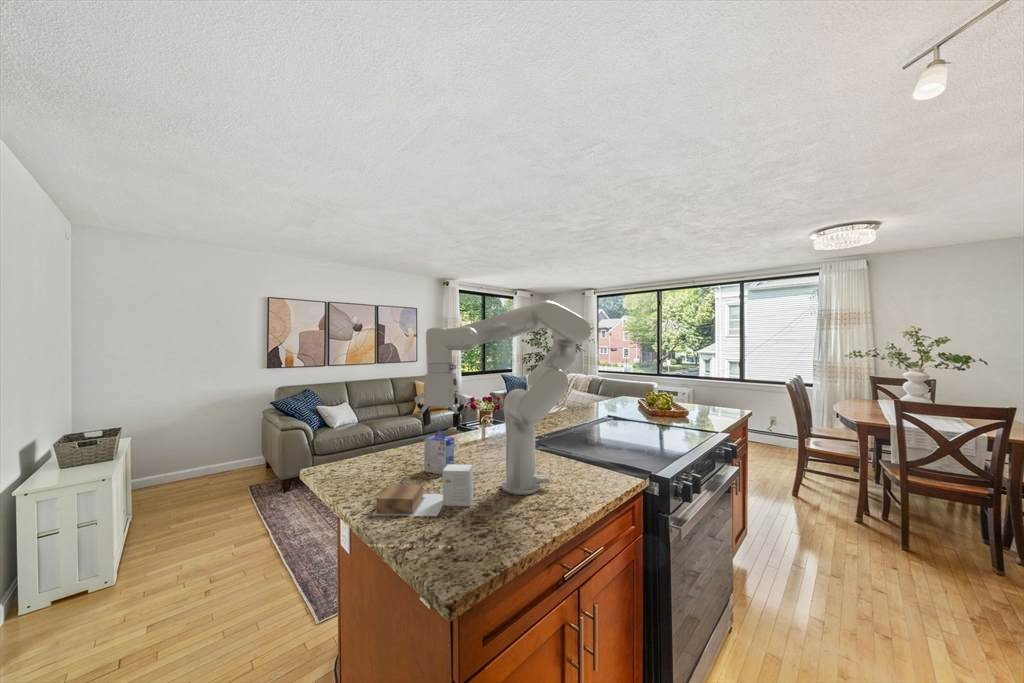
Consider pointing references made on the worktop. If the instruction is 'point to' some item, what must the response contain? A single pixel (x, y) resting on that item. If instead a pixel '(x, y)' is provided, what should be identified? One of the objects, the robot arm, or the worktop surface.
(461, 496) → the small box
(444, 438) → the ink cartridge box
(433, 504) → the white rectangular board
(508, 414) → the robot arm
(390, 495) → the base slab
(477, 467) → the worktop surface
